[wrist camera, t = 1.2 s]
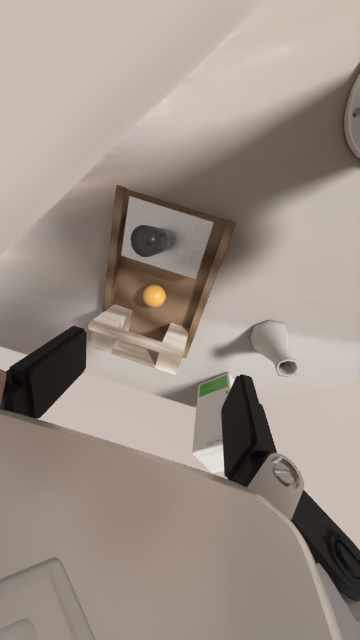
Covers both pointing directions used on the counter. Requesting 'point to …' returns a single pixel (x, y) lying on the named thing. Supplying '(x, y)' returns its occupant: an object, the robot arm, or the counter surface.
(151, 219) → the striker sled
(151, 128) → the counter surface
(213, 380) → the skincare box
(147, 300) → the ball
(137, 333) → the wooden tray
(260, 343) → the flask
